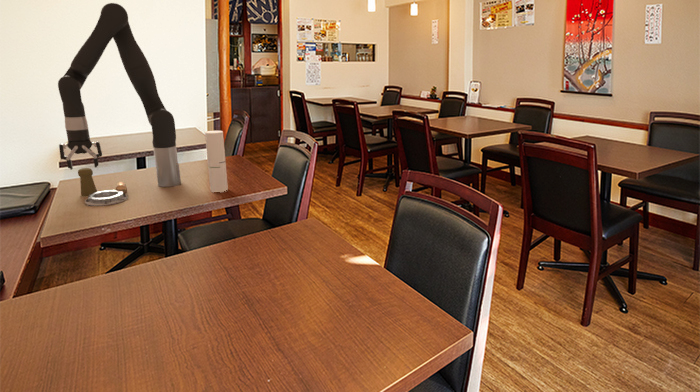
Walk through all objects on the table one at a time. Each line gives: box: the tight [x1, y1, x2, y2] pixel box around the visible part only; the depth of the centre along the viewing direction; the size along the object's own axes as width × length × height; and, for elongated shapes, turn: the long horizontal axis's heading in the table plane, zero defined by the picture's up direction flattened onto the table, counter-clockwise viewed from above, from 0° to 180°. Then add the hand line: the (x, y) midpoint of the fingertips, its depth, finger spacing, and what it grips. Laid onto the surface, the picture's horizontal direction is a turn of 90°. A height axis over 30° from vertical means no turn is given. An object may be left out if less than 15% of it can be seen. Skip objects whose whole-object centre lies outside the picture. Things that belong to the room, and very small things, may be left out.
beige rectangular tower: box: [204, 130, 229, 193], centre depth 182 cm, size 7×7×25 cm
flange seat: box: [84, 189, 129, 207], centre depth 172 cm, size 15×15×2 cm
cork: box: [77, 167, 98, 198], centre depth 178 cm, size 6×6×11 cm
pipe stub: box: [115, 181, 128, 195], centre depth 181 cm, size 8×4×4 cm, turn 28°
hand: (83, 168), depth 176 cm, fingers open, 8 cm apart
